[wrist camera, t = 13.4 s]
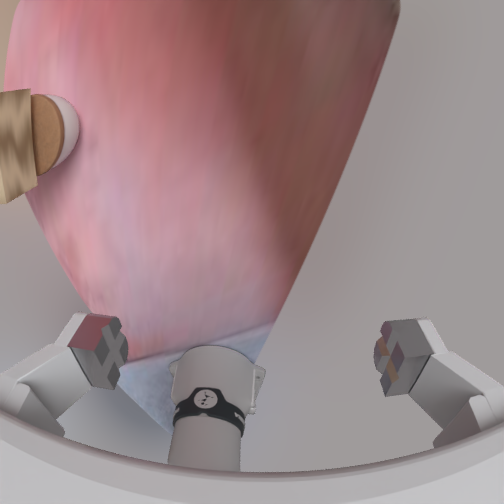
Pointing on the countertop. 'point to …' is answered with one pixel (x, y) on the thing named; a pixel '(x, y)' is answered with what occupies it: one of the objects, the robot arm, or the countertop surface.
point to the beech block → (16, 145)
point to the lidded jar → (52, 130)
